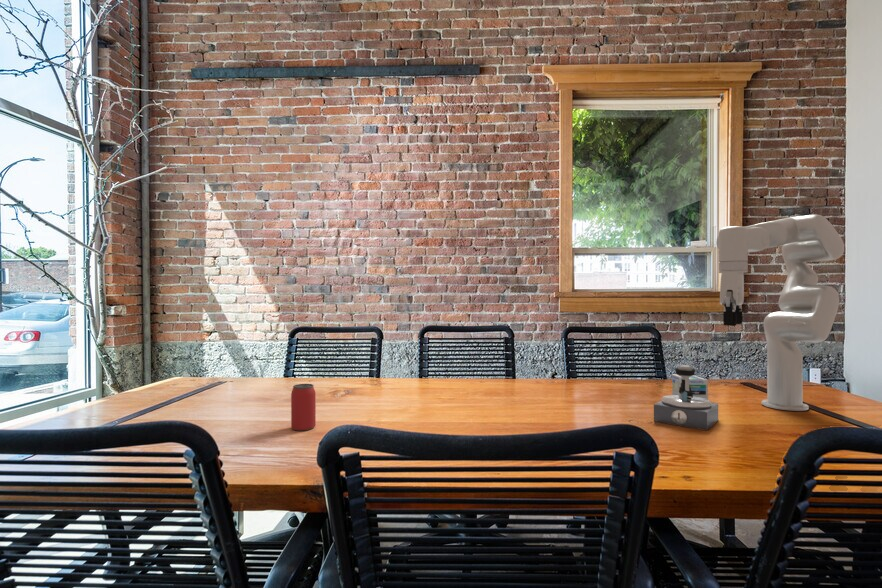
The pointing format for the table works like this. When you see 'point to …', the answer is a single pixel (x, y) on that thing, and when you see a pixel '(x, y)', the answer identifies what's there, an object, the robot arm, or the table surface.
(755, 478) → the table surface
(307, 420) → the beer can
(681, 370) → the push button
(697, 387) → the light bulb box
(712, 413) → the scale
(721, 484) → the table surface
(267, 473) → the table surface
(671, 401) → the scale pan
